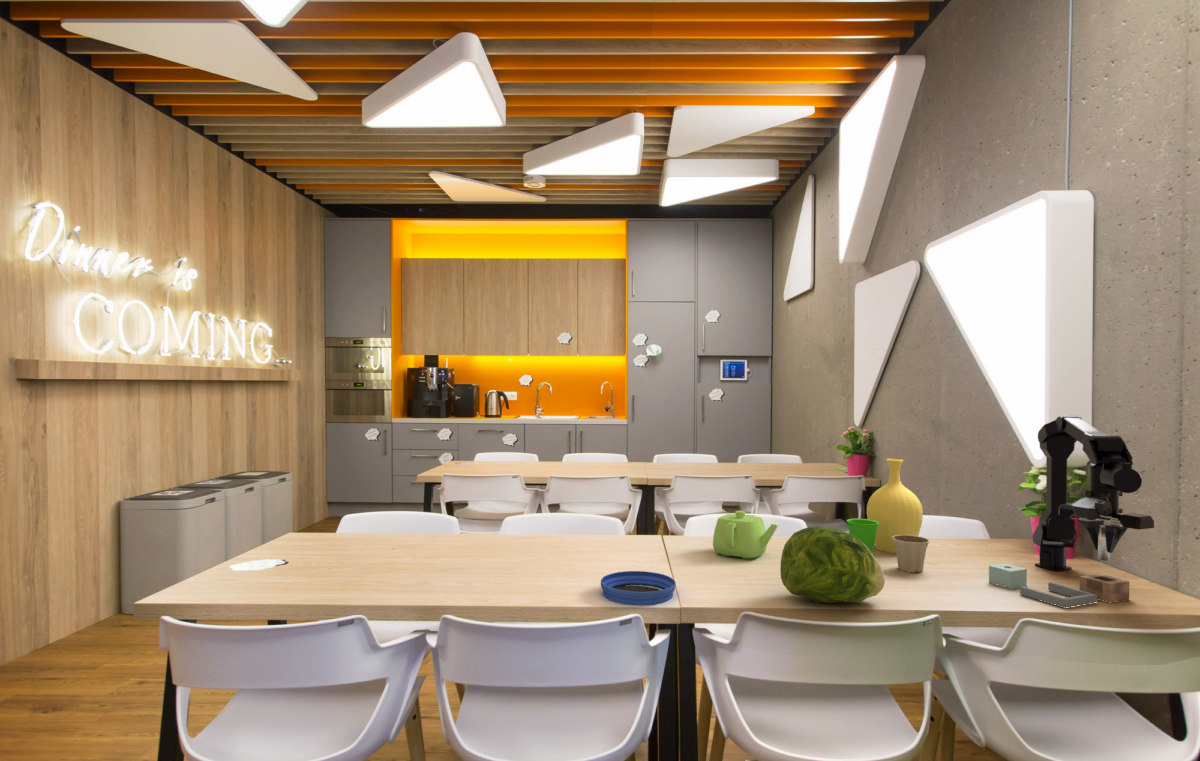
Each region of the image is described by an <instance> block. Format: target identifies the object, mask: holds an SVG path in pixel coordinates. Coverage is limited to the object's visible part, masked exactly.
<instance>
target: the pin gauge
mask: <svg viewBox="0 0 1200 761" xmlns="http://www.w3.org/2000/svg"><path fill="white" fill-rule="evenodd" d="M1107 533H1108V532H1107V529H1106V528H1105V526H1104V525H1103V526H1101V525H1099V526H1098V550H1097V560H1100V561H1103V562H1104V561H1105V562H1110V561H1111V553H1108V550H1107Z"/></svg>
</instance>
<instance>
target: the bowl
mask: <svg viewBox="0 0 1200 761" xmlns="http://www.w3.org/2000/svg"><path fill="white" fill-rule="evenodd" d="M676 585H677V584H676V581H675V579H674V578H673V577H671V576H669V575H666V574H663V573H659V572H654V571H653V572H652V571H645V570H627V571H626V570H625V571H618V572H611V573H609V574H606V575H604V576H602V578H601V579H600V587H601V590H602V596H604V598H605V599H607V600H609V601H611V602H614V603H617V604H620V605H621V604H622V605H628V606H653V605H658V604H662V603H663V604H664V603H666V602H668V601H669V600H672V598H673V596H674V592H675V590H676Z"/></svg>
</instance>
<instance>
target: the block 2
mask: <svg viewBox="0 0 1200 761" xmlns="http://www.w3.org/2000/svg"><path fill="white" fill-rule="evenodd" d="M1079 590H1081V591H1085V592H1088V593H1092V594H1096V595H1097V599H1100V600H1104V601H1107V602H1115V601H1121V602H1124V601H1123V600H1127V601H1130V580H1127V579H1121V578H1117V577H1114V576H1111V575H1105V574H1101V573H1094V574H1092V573H1091V574H1087V575H1086V574H1085V575H1080V576H1079ZM1100 600H1099V601H1100ZM1104 601H1103V602H1104ZM1107 602H1106V603H1107ZM1115 603H1116V602H1115Z"/></svg>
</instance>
